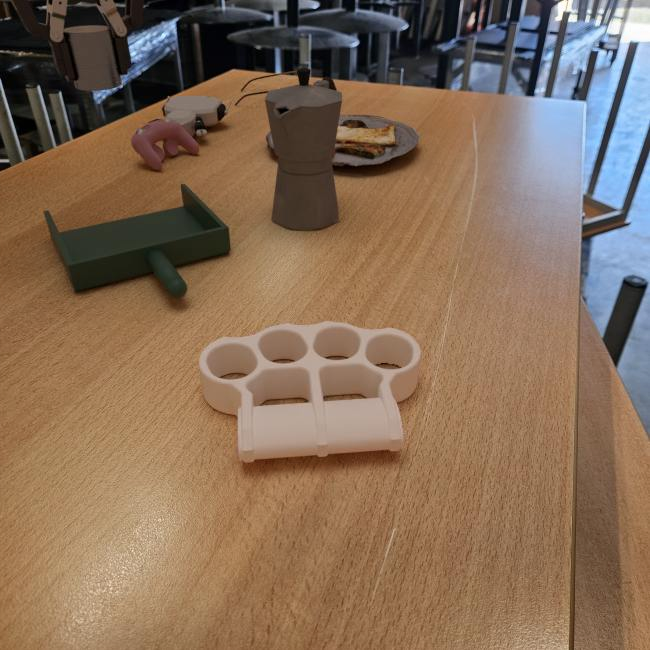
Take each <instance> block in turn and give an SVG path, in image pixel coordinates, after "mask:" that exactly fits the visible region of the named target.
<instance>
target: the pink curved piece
mask: <svg viewBox="0 0 650 650" xmlns="http://www.w3.org/2000/svg"><path fill="white" fill-rule="evenodd" d="M149 122H150V121H149ZM161 141H162V148H161V146H159V145H157V144H156V143H158V142H161ZM130 143H131V146H132V149H133V150H134V152H136V154H138V155H139V156H140V157H141V159H142V160H143V161H144V162H145V164H147V165H148V166H149V167H150V168H151V169H153V170H155V171H159V172H160V171H162V170H163V167H164V165H163V162H162V161H163V160H164V158H165V155H166V156H167V157H174V156H176V155H177V154H178V153H179V146H180V147H182V148H183V149H184V150H185V151H187V152H188V153H190V154H192V155H195V156H197V155H198V154H199V153H200V146H199V144H198V142H197V141H196V139H194V138H193V136H192V137H191V136H190V135H189V134H188V133H187V131H186V130H185V129H184V128H183V127H182V126H181V125H180V124H179V123H177V122H175V120H173V119H171V120H164V119H161V120H157V121H154V122H150V123H148V122H147V123H146V124H144V125H143V126H141V127H140V128H138V129H137V130H136V131H135V132H134V133H133V135H132V136H131V138H130Z"/></svg>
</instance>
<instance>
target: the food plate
mask: <svg viewBox="0 0 650 650" xmlns="http://www.w3.org/2000/svg"><path fill="white" fill-rule="evenodd" d="M421 137H422V136H421V135H419V132H418V131H417V130H416V129H414V127H412V126H411V125H408V124H406V123H404V122H400V121H396V120H391V119H389V118H386V117H384V116H378V115H372V114H371V115H370V114H369V115H368V114H340V117H339V123H338V130H337V136H336V142H335V149H334V155H333V156H332V166H335V167H343V166H345V165H348V166H352V167H354V166H355V167H358V166H367V165H368V166H369V165H379V164H383V163H385V162H388V161H390V160H391V159H393V158H396V157H400V156H403V155H406V154H407V153H408V152H410V151H412V150H414V149H415V147H417V146H418V144H419V142H420V140H421ZM265 140H266V144H267V147H268V148H269V149H270V150H272V153H274V146H273V141H272V135H271V130H269V132H268V133H267V134H266V136H265Z"/></svg>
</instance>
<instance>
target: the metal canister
mask: <svg viewBox="0 0 650 650" xmlns="http://www.w3.org/2000/svg"><path fill="white" fill-rule="evenodd" d="M63 39H64V41H65V42H67V45H68V49H69V53H70V57H71V62H72V66H73V70H74V74H75V79H76V81H73V83H74V87H75V88H76V90H79V91H84V92H100V91H101V92H102V91H107V90H109V91H110V90H112V89H116V88H119V87H121V86H122V84H123V82H122V78H121V77H122V75H120V71H119V66H118V61H117V56H116V51H115V46H114V41H113V35H112V30H111V28H110V27H108V25H98V24H97V25H77V26H70V27H65V28H64V32H63Z"/></svg>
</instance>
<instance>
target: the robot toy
mask: <svg viewBox="0 0 650 650" xmlns="http://www.w3.org/2000/svg"><path fill="white" fill-rule="evenodd" d="M232 103H233V100H232V99H230V100H229V103H228V105H227V106H226V104H224V103H223V100H221V99H219V98H217V97H213V96H207V95H178V96H175V97H171V96H169V95H168V96H167V99H166V100H165V103H164V104H163V106H161V112H162V115H163V117H164V119H163V120H171V119H173V120H175V122H177V123H179V124H180V125H181V126H182V127H183V128H184V129H185V130H186V131H187V133H188V134H189V135H190V136H191V137H192V138H193V137H194V135H195V134H196V137H205V136H207V134H208V131H207V128H212V127H214V126H215V125H217V124H219V122H220V121H222V120H223V119H224V118H225V116H228V114H229V112H228V111H229V110H230V107H231V105H232ZM157 120H162V119H160V118H156V119H153V120H150V121H148V122H147V124H148V123H150V122H154V121H157Z"/></svg>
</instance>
